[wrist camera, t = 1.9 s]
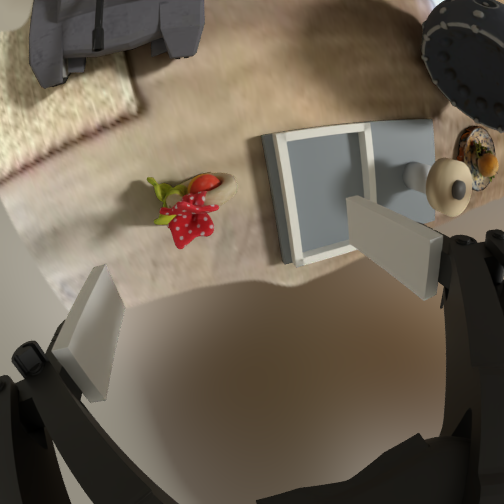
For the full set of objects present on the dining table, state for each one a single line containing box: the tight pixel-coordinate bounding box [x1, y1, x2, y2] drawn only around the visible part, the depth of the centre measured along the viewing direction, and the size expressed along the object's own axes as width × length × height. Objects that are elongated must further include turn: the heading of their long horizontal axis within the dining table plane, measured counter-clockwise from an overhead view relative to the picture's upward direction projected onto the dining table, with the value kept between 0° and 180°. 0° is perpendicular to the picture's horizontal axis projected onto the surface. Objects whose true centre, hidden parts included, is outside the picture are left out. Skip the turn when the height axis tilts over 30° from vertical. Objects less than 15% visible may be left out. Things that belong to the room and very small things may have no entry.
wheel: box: [426, 158, 472, 217], centre depth 30 cm, size 7×7×3 cm
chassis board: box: [261, 119, 435, 268], centre depth 35 cm, size 16×26×4 cm, turn 101°
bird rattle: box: [147, 172, 238, 249], centre depth 28 cm, size 6×11×9 cm
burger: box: [457, 126, 498, 191], centre depth 36 cm, size 12×12×8 cm
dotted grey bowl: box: [421, 0, 504, 133], centre depth 22 cm, size 11×20×20 cm, turn 50°
